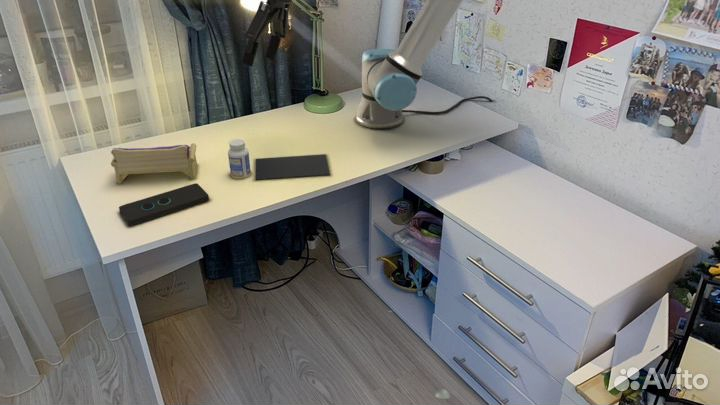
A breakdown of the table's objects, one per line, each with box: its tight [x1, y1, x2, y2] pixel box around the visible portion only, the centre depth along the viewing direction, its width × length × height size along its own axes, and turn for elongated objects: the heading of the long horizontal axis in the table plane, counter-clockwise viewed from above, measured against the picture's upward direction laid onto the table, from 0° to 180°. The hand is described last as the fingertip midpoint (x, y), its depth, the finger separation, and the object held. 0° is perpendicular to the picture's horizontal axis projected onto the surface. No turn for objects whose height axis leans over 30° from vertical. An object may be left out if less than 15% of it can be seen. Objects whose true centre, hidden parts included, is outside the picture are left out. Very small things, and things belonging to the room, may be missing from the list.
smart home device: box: [118, 182, 210, 227], centre depth 139 cm, size 8×2×20 cm
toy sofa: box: [110, 142, 198, 184], centre depth 151 cm, size 21×9×10 cm, turn 99°
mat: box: [255, 153, 331, 181], centre depth 157 cm, size 20×12×1 cm, turn 99°
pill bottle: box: [227, 138, 252, 180], centre depth 151 cm, size 5×5×10 cm
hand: (259, 61), depth 154 cm, fingers open, 13 cm apart
